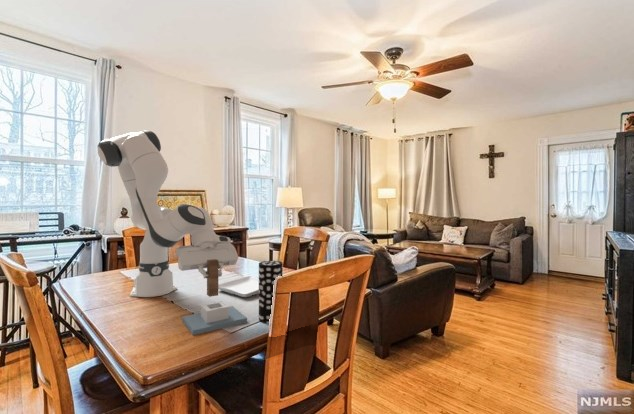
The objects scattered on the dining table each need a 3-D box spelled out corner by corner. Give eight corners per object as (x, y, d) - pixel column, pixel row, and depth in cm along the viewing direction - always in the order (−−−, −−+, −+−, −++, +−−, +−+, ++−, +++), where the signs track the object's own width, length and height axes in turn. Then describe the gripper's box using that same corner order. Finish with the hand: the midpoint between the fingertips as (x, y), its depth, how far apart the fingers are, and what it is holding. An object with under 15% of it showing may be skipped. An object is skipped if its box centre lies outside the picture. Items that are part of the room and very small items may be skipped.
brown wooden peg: (206, 294, 107) (207, 259, 107) (215, 293, 109) (215, 259, 108) (209, 296, 105) (209, 261, 104) (218, 295, 106) (218, 260, 106)
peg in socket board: (182, 320, 108) (182, 305, 108) (232, 310, 119) (232, 295, 118) (192, 335, 97) (192, 317, 97) (247, 322, 107) (247, 306, 107)
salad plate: (244, 301, 130) (244, 293, 129) (214, 292, 142) (214, 284, 142) (279, 289, 146) (279, 282, 146) (249, 282, 159) (249, 275, 159)
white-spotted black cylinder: (261, 314, 114) (261, 260, 114) (283, 314, 114) (284, 260, 114) (256, 323, 106) (256, 265, 106) (280, 323, 106) (280, 265, 105)
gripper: (176, 241, 106) (182, 275, 98) (234, 237, 118) (243, 267, 110) (173, 252, 110) (179, 286, 102) (230, 247, 121) (239, 277, 114)
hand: (213, 276), depth 106 cm, fingers closed on brown wooden peg, 3 cm apart
